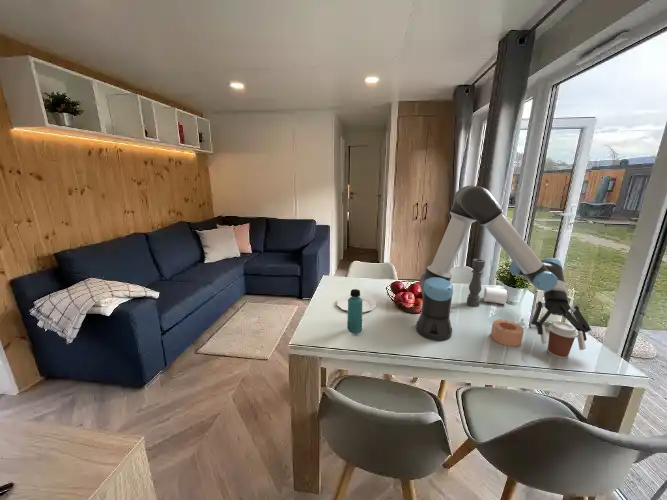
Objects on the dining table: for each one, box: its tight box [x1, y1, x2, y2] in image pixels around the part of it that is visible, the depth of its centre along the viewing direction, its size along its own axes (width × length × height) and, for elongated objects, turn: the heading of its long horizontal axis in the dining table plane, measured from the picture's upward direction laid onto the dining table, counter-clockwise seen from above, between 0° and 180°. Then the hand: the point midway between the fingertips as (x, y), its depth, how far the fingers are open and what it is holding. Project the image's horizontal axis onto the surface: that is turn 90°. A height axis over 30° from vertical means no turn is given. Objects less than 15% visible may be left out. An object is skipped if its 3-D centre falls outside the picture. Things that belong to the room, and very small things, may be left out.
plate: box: [336, 295, 377, 313], centre depth 150 cm, size 21×21×2 cm
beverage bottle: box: [346, 288, 363, 334], centre depth 121 cm, size 6×7×20 cm
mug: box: [483, 286, 508, 305], centre depth 156 cm, size 12×10×8 cm
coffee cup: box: [547, 320, 579, 359], centre depth 108 cm, size 9×9×12 cm
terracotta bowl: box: [490, 319, 525, 347], centre depth 118 cm, size 11×11×6 cm
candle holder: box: [466, 258, 486, 308], centre depth 149 cm, size 6×6×25 cm
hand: (563, 346), depth 106 cm, fingers open, 11 cm apart
